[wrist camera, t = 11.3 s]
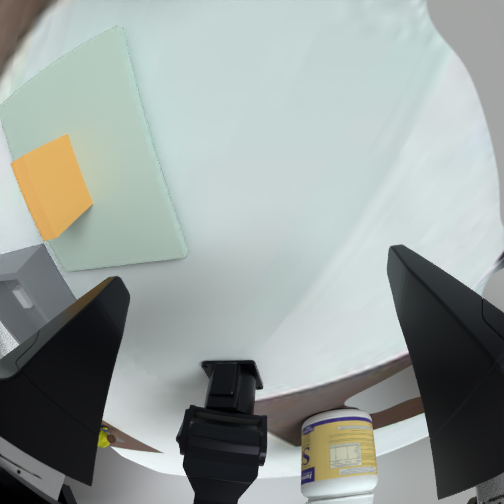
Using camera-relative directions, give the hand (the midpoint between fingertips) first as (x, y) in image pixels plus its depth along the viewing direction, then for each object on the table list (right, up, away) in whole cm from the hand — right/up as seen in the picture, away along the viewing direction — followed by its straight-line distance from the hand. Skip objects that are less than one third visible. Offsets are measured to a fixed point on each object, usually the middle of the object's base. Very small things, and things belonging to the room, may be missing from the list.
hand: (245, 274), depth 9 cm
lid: (-13, +8, +11) cm, 19 cm away
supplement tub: (+15, -28, +33) cm, 46 cm away
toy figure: (-40, -47, +52) cm, 81 cm away
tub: (-27, -7, +22) cm, 35 cm away
